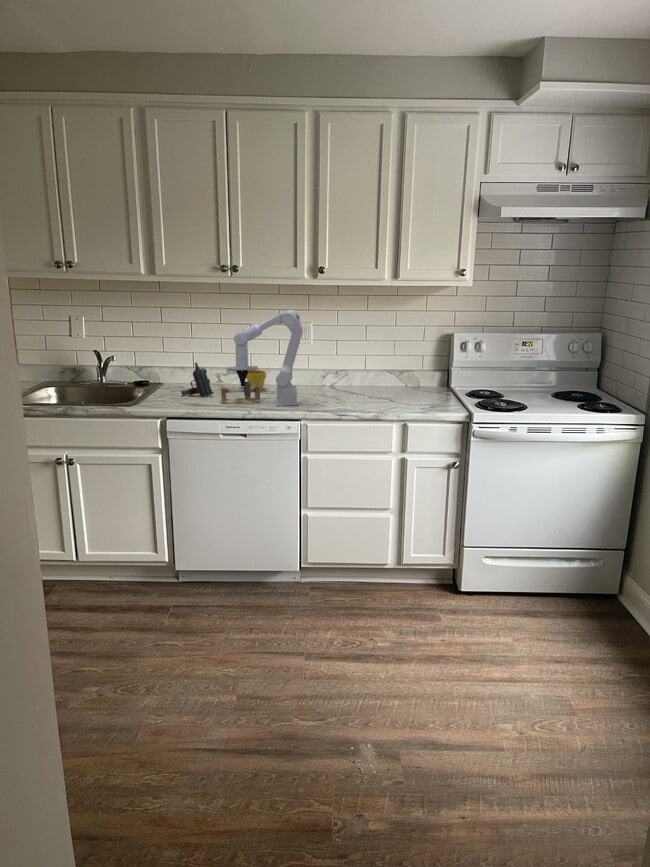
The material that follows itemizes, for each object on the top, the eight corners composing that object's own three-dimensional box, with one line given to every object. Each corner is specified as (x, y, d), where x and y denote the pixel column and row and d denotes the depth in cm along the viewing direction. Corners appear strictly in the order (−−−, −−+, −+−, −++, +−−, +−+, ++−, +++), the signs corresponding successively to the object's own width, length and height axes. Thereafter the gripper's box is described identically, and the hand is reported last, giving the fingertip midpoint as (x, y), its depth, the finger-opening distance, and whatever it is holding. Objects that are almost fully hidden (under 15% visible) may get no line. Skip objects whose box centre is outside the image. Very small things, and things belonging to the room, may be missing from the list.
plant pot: (264, 392, 324) (264, 374, 321) (244, 392, 324) (244, 373, 322) (267, 388, 334) (267, 369, 331) (247, 387, 334) (247, 369, 331)
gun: (174, 367, 312) (203, 360, 312) (184, 400, 317) (213, 392, 317) (173, 369, 310) (202, 361, 309) (184, 401, 315) (213, 393, 314)
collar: (249, 394, 309) (249, 381, 307) (250, 397, 303) (250, 384, 301) (244, 394, 308) (243, 381, 306) (245, 397, 302) (245, 384, 300)
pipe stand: (258, 399, 310) (258, 385, 308) (260, 402, 305) (260, 387, 303) (221, 401, 307) (220, 386, 304) (222, 404, 301) (221, 389, 299)
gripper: (256, 355, 305) (256, 383, 309) (225, 356, 302) (226, 384, 306) (258, 358, 298) (258, 386, 302) (226, 359, 295) (227, 387, 299)
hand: (242, 386), depth 304 cm, fingers closed
